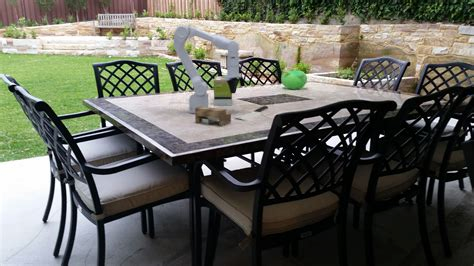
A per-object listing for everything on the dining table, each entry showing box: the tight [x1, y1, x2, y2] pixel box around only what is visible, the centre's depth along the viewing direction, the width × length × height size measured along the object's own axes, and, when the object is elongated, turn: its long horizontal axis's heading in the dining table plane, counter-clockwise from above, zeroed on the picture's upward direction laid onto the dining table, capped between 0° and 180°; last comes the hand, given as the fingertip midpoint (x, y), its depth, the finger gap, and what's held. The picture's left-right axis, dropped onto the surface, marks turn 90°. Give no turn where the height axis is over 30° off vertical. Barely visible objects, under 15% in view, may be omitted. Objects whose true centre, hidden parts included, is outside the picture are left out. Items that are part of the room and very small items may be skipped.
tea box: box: [213, 75, 233, 107], centre depth 222 cm, size 15×10×15 cm
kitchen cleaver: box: [235, 105, 269, 122], centre depth 197 cm, size 31×2×10 cm
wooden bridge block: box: [194, 106, 232, 127], centre depth 178 cm, size 14×8×7 cm, turn 61°
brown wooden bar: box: [200, 117, 219, 125], centre depth 183 cm, size 4×14×2 cm, turn 147°
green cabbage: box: [280, 67, 308, 90], centre depth 275 cm, size 18×17×15 cm
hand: (233, 93), depth 198 cm, fingers closed
